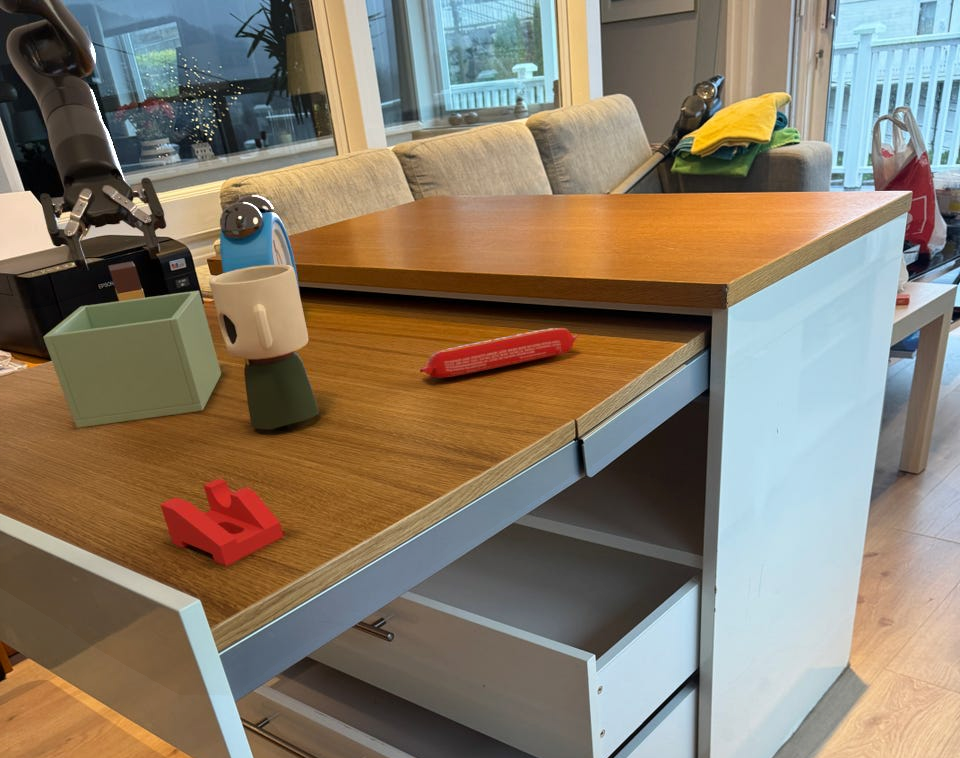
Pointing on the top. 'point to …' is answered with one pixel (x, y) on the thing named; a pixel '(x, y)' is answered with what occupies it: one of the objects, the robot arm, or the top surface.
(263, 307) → the character mug
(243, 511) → the bracket
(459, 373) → the packaged sausage
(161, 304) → the trash bin
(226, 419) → the top surface
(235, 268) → the alarm clock
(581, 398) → the top surface
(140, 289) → the chocolate carton
